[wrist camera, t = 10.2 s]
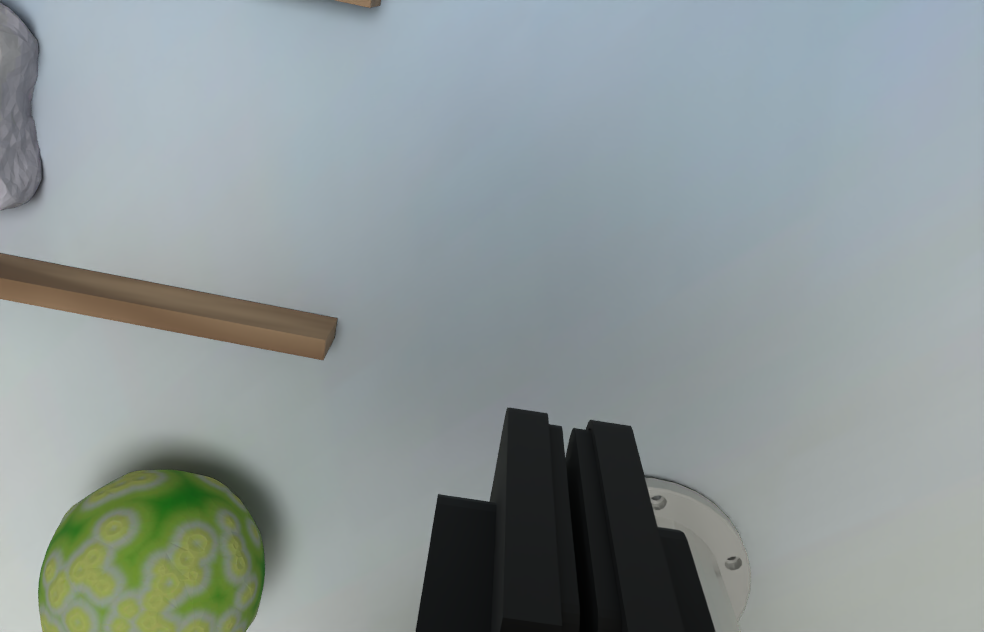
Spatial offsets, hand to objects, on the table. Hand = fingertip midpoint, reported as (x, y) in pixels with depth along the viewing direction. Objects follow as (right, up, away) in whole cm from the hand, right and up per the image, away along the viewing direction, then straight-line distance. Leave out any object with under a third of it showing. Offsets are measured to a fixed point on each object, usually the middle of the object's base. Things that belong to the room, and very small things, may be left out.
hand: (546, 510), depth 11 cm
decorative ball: (-16, -8, +32) cm, 37 cm away
